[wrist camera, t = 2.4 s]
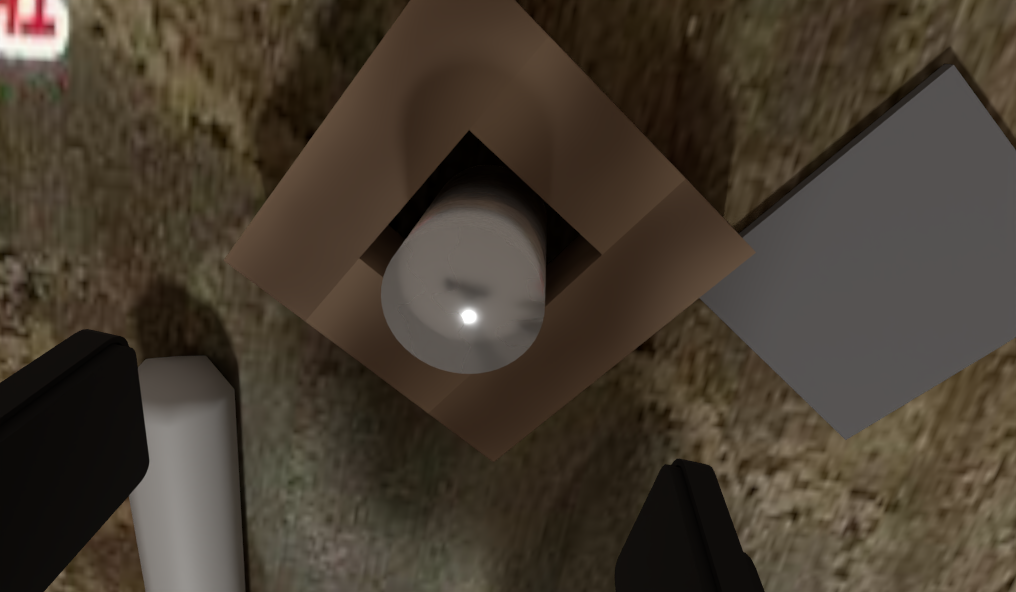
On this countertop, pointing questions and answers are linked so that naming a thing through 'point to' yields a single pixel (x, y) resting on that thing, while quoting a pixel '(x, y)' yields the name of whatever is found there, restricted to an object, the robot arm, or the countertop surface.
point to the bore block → (537, 161)
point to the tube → (189, 479)
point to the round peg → (471, 274)
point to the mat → (885, 260)
